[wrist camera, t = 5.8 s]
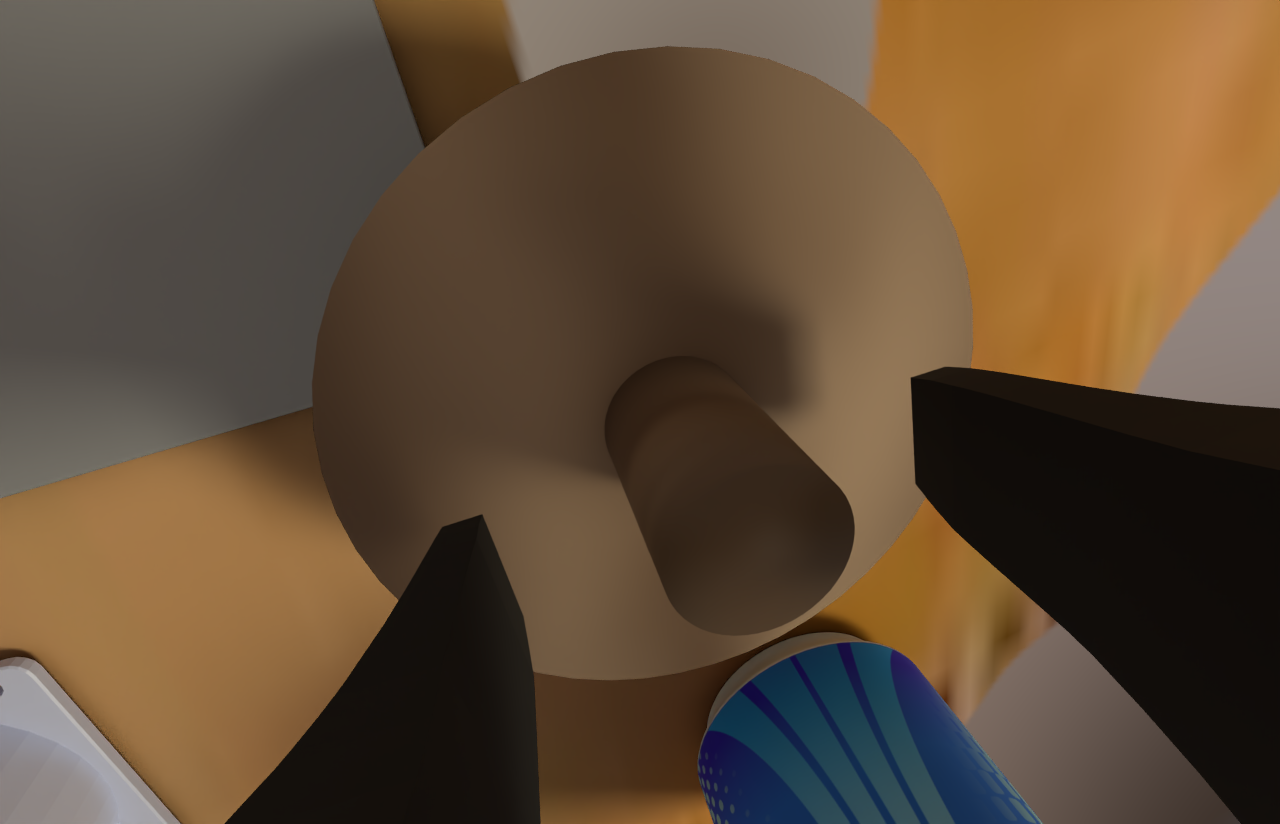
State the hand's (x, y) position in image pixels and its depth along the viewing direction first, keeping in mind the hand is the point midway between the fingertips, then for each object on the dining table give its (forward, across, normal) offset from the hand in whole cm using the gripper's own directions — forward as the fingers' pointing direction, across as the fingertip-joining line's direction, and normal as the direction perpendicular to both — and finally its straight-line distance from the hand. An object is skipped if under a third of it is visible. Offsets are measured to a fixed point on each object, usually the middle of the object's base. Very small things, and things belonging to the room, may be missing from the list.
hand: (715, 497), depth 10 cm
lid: (+3, 0, 0) cm, 3 cm away
